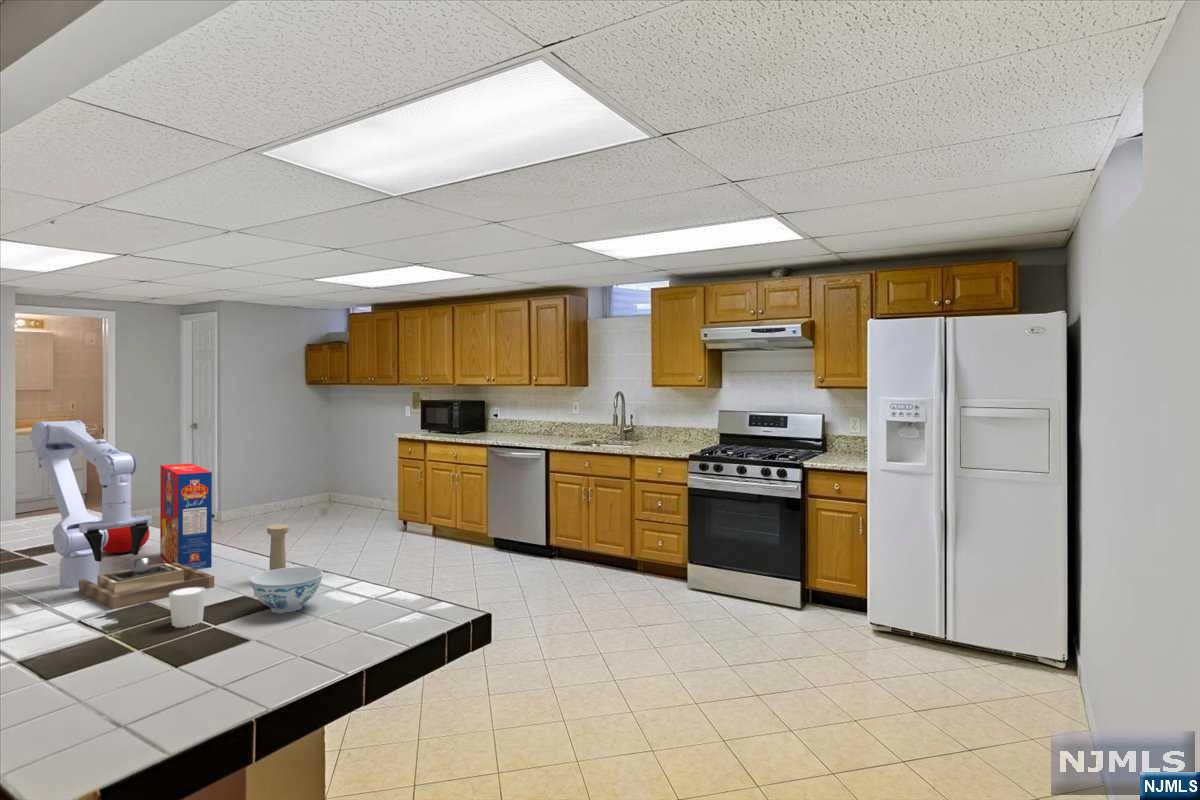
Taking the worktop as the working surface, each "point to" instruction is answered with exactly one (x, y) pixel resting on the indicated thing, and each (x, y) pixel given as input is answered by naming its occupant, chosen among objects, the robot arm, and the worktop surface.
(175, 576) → the crate
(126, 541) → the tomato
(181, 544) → the pasta box
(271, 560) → the handle
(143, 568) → the peg
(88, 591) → the bay
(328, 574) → the worktop surface
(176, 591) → the white cylinder
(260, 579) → the chinaware
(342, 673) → the worktop surface
